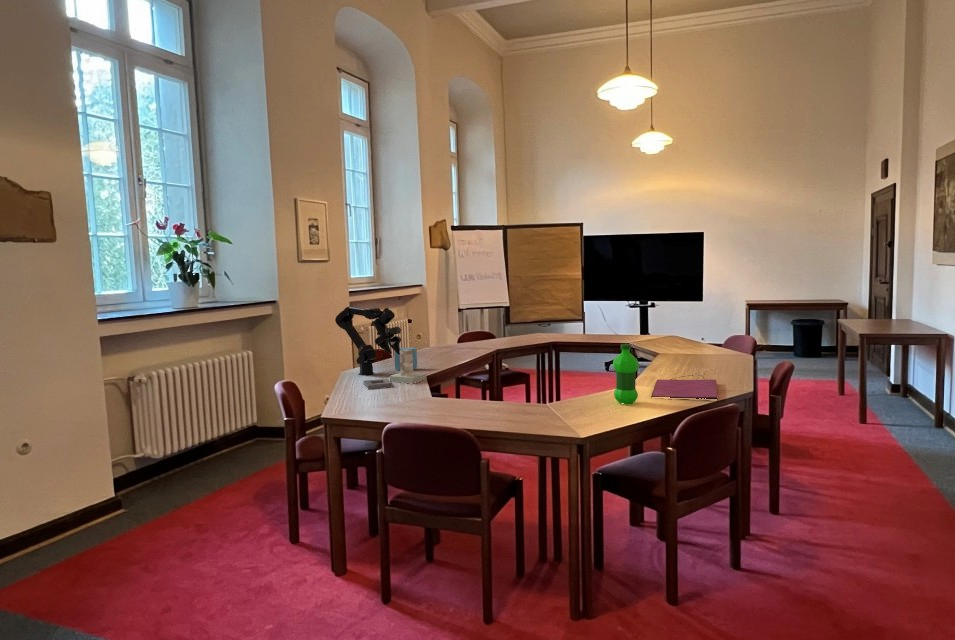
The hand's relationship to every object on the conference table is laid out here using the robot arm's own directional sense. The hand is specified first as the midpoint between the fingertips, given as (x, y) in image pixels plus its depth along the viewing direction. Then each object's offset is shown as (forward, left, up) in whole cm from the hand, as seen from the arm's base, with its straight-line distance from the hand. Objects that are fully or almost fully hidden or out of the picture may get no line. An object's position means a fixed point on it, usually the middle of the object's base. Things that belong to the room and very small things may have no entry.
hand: (395, 354), depth 344 cm
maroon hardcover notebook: (+140, +31, -14) cm, 145 cm away
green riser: (+9, -2, -13) cm, 16 cm away
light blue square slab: (-11, +23, -13) cm, 28 cm away
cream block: (+9, -3, -10) cm, 14 cm away
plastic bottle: (+124, -4, -13) cm, 125 cm away
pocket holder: (+3, -19, -13) cm, 23 cm away
